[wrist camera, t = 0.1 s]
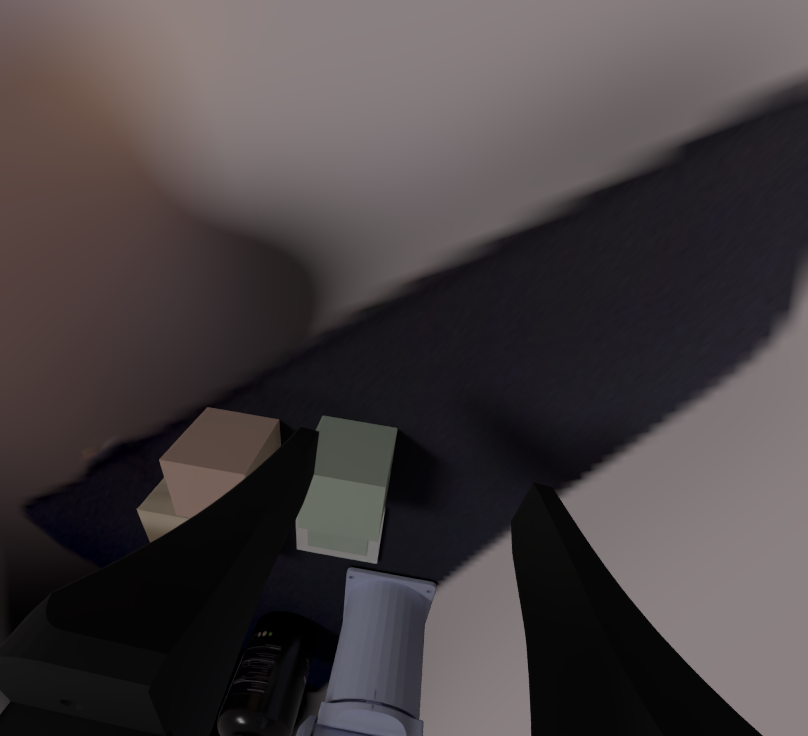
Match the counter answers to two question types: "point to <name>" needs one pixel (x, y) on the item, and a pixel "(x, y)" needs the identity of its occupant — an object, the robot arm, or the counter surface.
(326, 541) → the card
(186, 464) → the terracotta block
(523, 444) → the counter surface
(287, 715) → the supplement bottle
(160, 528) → the maple block
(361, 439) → the sage block
